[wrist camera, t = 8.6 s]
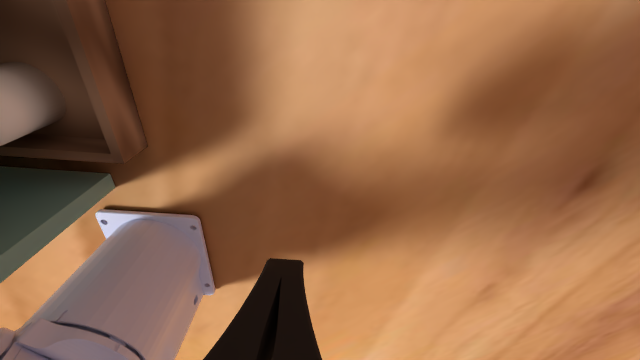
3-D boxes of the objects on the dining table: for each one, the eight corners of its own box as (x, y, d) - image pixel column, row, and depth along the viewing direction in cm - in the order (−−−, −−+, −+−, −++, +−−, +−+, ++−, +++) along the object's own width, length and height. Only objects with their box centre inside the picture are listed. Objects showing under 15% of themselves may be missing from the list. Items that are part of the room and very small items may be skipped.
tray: (147, 146, 19) (124, 163, 17) (14, 137, 19) (-27, 153, 16) (66, -130, 12) (8, -161, 10) (-146, -147, 12) (-251, -181, 10)
